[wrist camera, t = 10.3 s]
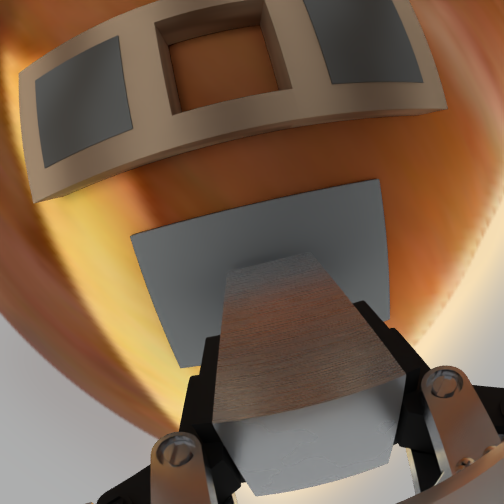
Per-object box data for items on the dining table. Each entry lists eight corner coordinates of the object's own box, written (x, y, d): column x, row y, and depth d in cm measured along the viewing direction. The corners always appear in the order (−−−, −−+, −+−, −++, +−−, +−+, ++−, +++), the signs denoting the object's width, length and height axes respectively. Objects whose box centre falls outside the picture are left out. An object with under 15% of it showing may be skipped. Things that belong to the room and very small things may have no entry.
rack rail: (381, 6, 11) (402, -14, 8) (418, 115, 14) (448, 108, 11) (46, 82, 12) (18, 72, 9) (63, 196, 14) (32, 203, 11)
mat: (375, 178, 15) (379, 179, 14) (387, 316, 17) (389, 319, 17) (132, 234, 15) (129, 236, 15) (181, 364, 18) (180, 368, 17)
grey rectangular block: (310, 251, 13) (406, 374, 5) (321, 323, 15) (388, 463, 6) (227, 271, 14) (212, 423, 5) (247, 340, 15) (255, 496, 6)
